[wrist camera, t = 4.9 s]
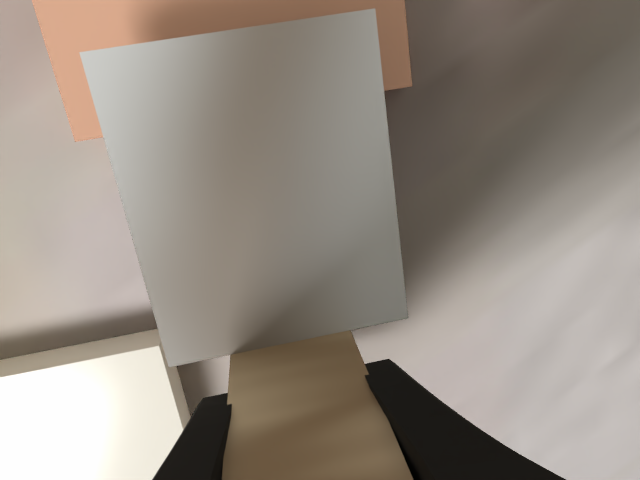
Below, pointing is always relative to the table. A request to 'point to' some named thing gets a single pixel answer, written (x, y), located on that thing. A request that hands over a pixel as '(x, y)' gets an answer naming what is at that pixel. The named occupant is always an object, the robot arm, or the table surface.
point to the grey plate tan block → (266, 228)
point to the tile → (186, 20)
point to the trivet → (90, 411)
